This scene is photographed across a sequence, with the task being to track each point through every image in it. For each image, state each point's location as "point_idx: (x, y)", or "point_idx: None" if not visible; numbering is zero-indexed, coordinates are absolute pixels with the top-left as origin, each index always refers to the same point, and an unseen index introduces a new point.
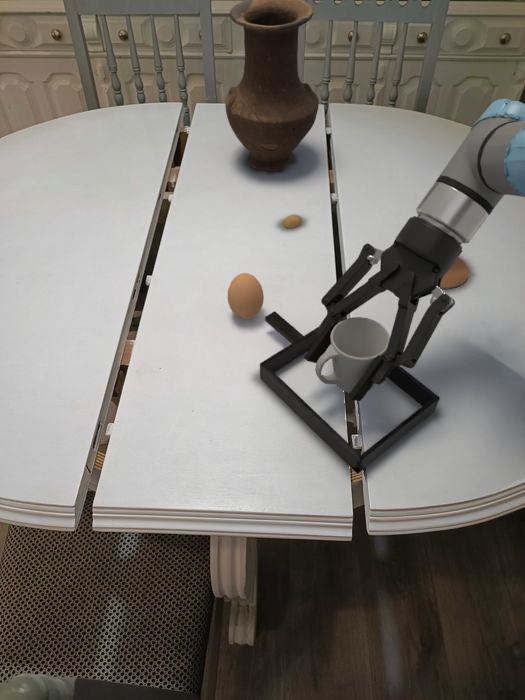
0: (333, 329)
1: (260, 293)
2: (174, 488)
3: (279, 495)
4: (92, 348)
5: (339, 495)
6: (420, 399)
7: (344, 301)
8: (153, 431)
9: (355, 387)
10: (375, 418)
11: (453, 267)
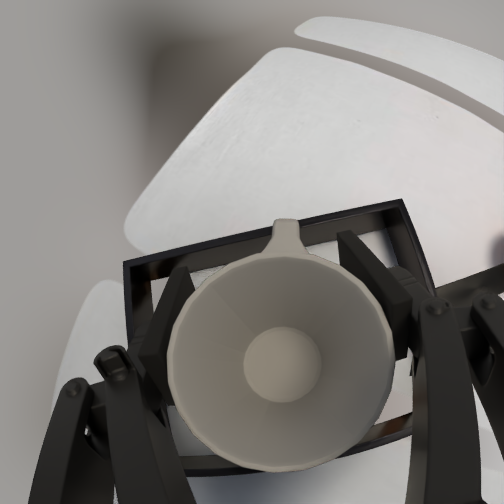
0: (366, 290)
1: None
2: (258, 84)
3: (182, 168)
4: (469, 83)
5: (136, 235)
6: (193, 459)
7: (452, 358)
8: (342, 83)
9: (178, 281)
10: None
11: None
